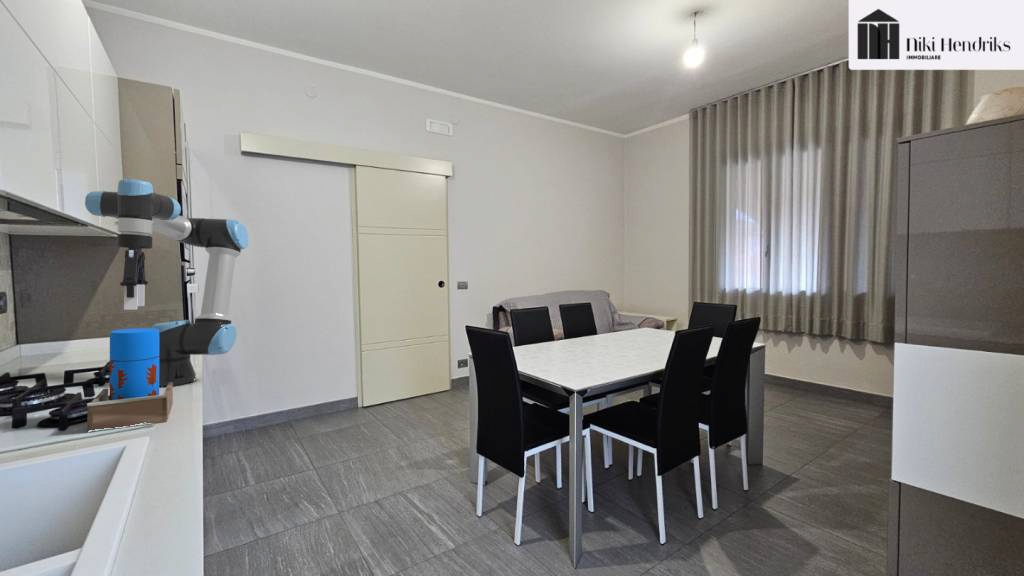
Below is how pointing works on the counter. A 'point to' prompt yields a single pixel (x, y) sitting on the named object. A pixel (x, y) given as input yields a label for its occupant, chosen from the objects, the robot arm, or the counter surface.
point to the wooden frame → (128, 410)
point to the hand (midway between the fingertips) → (134, 307)
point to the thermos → (134, 363)
